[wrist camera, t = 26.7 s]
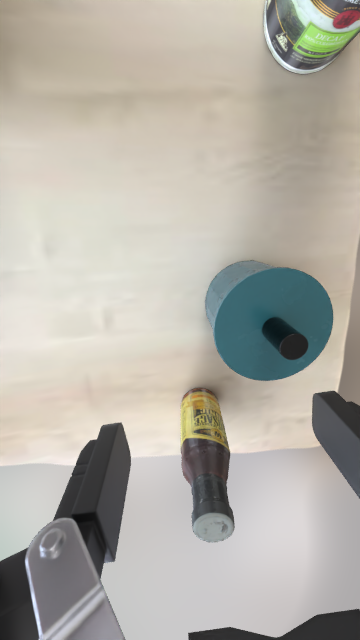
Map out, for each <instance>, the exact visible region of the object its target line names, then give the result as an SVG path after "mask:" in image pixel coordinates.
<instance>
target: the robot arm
mask: <svg viewBox="0 0 360 640" xmlns="http://www.w3.org/2000/svg"><path fill="white" fill-rule="evenodd" d="M312 426H313V430H314V433H315V436H316V438H317V439H318V441H319V442H320V444H321V445H322V446H323V448H324V449H325V451H326V452H327V454H328V455H329V456H330V458H331V459H332V460H333V462H334V463H335V465H336V466H337V467H338V469H339V470H340V472H341V473H342V475H343V476H344V477H345V479H346V480H347V482H348V483H349V484H350V486H351V487H352V488H353V490H354V491H355V493H356V494H357V496H358V497H359V498H360V406H359V405H357V404H355V403H353V402H346V401H345V400H344V399H343V398H342V397H341V396H340V395H339V394H338V393H337V392H335V391H328V392H322V393H315V394H314V395H313V408H312ZM130 466H131V456H130V450H129V446H128V443H127V439H126V435H125V432H124V428H123V425H122V423H114V424H107V425H103V426H102V427H101V429H100V432H99V435H98V438H97V440H90V441H89V442H88V444H87V445H86V446H85V447H84V449H83V450H82V451H81V453H80V455H79V458H78V460H77V463H76V466H75V468H74V470H73V473H72V477H71V478H70V480H69V483H68V485H67V488H66V490H65V493H64V495H63V497H62V500H61V502H60V505H59V507H58V510H57V512H56V515H55V517H54V520H53V521H52V522H50V523H49V524H47V525H46V526H45V527H43V528H42V529H41V531H39V532H38V534H37V535H36V536H35V537H34V539H33V540H32V542H31V543H30V545H29V547H28V548H26V549H24V550H23V551H20V552H18V553H17V554H14V555H12V556H10V557H8V558H6V559H4V560H2V561H0V640H39V639H40V640H125V637H124V635H123V632H122V630H121V628H120V625H119V623H118V621H117V618H116V616H115V614H114V611H113V609H112V606H111V604H110V601H109V599H108V597H107V595H106V592H105V590H104V587H103V585H102V583H101V580H100V578H101V574H102V569H103V564H104V563H108V562H114V561H115V556H116V551H117V545H118V539H119V533H120V526H121V520H122V514H123V508H124V502H125V496H126V490H127V484H128V478H129V472H130ZM188 634H189V635H188V636H189V640H360V610H359V609H355V610H349V611H341V612H334V613H327V614H320V615H316V616H314V617H313V618H311V619H309V620H308V621H306V622H304V623H303V624H301V625H299V626H298V627H296V628H294V629H293V630H291V631H290V632H288V633H286V634H285V635H283V636H281V637H277V638H274V637H269V636H265V635H260V634H257V633H252V632H248V631H244V630H240V629H236V628H231V627H227V628H220V629H213V630H206V631H199V632H193V633H188Z"/></svg>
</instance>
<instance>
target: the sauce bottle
mask: <svg viewBox="0 0 360 640" xmlns="http://www.w3.org/2000/svg"><path fill="white" fill-rule="evenodd" d="M181 454H182V470H183V475H184V477H185V478H186V480H187V481H188V483H189V484H190V485H191V487H192V495H193V509H194V510H193V512H192V526H193V532H194V533H195V535H196V536H197V537H198V538H199V539H201V540H204V541H207V542H219V541H223V540H225V539H227V538H228V537H229V536H230V535H231V534H232V533H233V531H234V517H233V512H232V509H231V508H230V506H229V502H228V496H227V486H226V483H227V482H226V481H227V479H228V470H229V459H230V450H229V446H228V442H227V437H226V433H225V428H224V424H223V420H222V416H221V411H220V407H219V403H218V401H217V399H216V397H215V396H214V394H213V393H212V392H211V391H209V390H207V389H203V388H195V389H192V390H191V391H189V392H188V393H186V394H185V395H184V397H183V400H182V404H181Z"/></svg>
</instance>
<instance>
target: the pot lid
mask: <svg viewBox="0 0 360 640" xmlns="http://www.w3.org/2000/svg"><path fill="white" fill-rule="evenodd" d="M332 325H333V309H332V304H331V301H330V298H329V296H328V294H327V292H326V291H325V289H324V288H323V286H322V285H321V284H320V283H319V282H318V281H317V280H316V279H314V278H313V277H312V276H310V275H308V274H306V273H304V272H302V271H299V270H296V269H291V268H285V267H274V268H267V269H262V270H259V271H256V272H254V273H252V274H250V275H248V276H246V277H244V278H243V279H241V280H240V281H238V282H237V283H236V284H235V285H234V286H233V287H232V288H231V289H230V290H229V291H228V292H227V293H226V295H225V296H224V298H223V299H222V301H221V303H220V304H219V306H218V309H217V312H216V314H215V319H214V325H213V335H214V341H215V345H216V348H217V350H218V352H219V354H220V356H221V358H222V359H223V361H224V362H225V363H226V364H227V365H228V366H229V367H230V368H231V369H232V370H234V371H235V372H237V373H238V374H240V375H242V376H244V377H247V378H250V379H254V380H261V381H270V380H278V379H283V378H286V377H289V376H291V375H294V374H296V373H298V372H299V371H301V370H303V369H304V368H306V367H307V366H308V365H310V364H311V363H312V362H313V361H314V360H315V359H316V358H317V357H318V356H319V354H320V353H321V352H322V350H323V349H324V347H325V345H326V343H327V342H328V339H329V337H330V334H331V330H332Z"/></svg>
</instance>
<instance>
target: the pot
mask: <svg viewBox="0 0 360 640" xmlns="http://www.w3.org/2000/svg"><path fill="white" fill-rule="evenodd" d="M267 268H274V266H271V265H268V264H264V263H260V262H256V261H242V262H237V263H234V264H232V265H230V266H228V267H226V268H225V269H223V270H222V271H221V272H220V273H218V274H217V276H216V277H215V278H214V279H213V281H212V282H211V284H210V286H209V288H208V291H207V295H206V300H205V305H206V312H207V317H208V319H209V322H210V324H211V326H212V328H213V325H214V319H215V314H216V312H217V309H218V306H219V304H220V303H221V301H222V299H223V298H224V296H225V295H226V293H227V292H228V291H229V290H230V289H231V288H232V287H233V286H234V285H235V284H236V283H237V282H238V281H240V280H241V279H243V278H244V277H246V276H248V275H250V274H252V273H254V272H256V271H259V270H262V269H267Z"/></svg>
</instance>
